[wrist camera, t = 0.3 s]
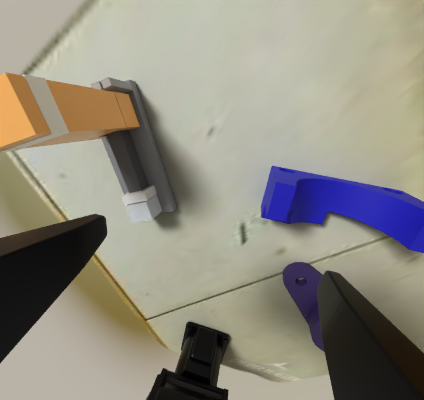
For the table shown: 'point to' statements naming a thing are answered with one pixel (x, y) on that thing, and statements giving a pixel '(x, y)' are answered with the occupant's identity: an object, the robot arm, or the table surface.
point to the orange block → (58, 112)
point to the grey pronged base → (137, 160)
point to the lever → (305, 295)
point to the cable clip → (343, 204)
